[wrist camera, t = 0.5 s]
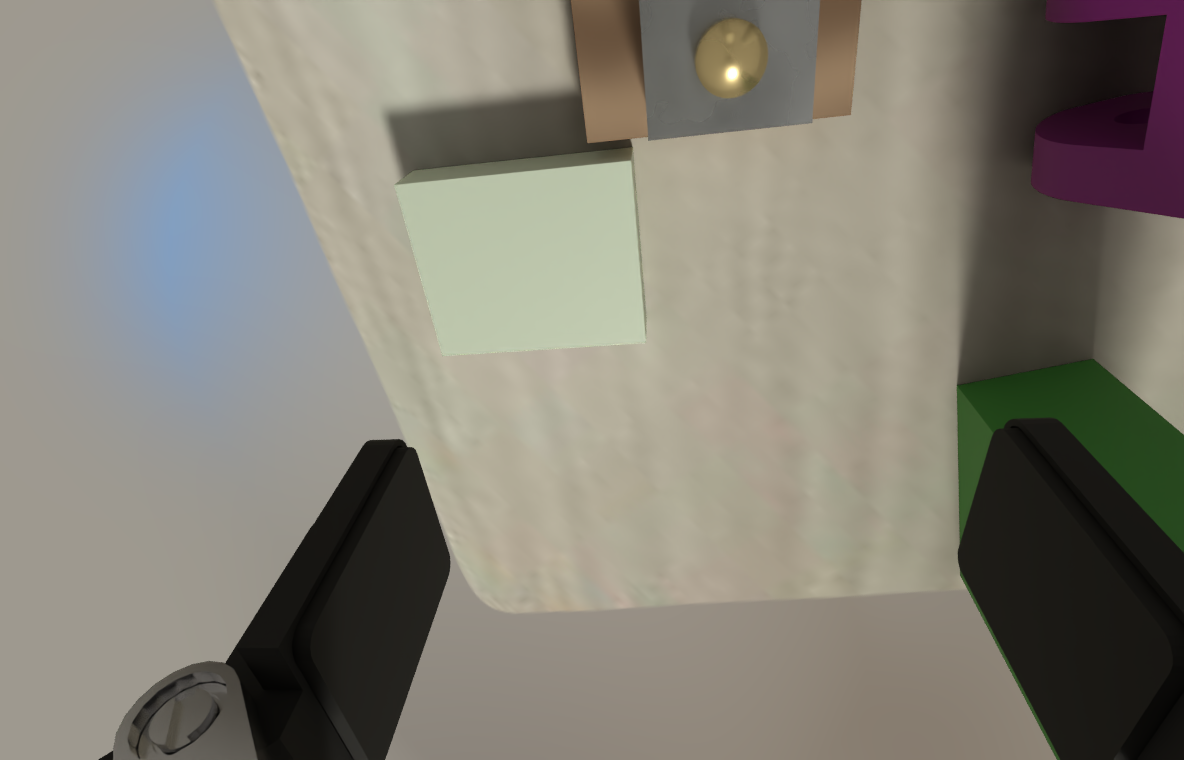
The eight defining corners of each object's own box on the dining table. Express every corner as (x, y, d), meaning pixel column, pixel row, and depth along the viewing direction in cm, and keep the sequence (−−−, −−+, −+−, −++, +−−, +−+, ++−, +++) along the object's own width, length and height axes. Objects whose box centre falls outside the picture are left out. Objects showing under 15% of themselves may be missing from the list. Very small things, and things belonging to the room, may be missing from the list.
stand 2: (565, -113, 27) (556, -124, 24) (855, -161, 25) (878, -177, 23) (592, 131, 32) (587, 143, 29) (834, 104, 30) (850, 114, 28)
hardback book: (1070, 561, 45) (1410, 1026, 25) (960, 575, 47) (1194, 1022, 27) (1093, 358, 37) (1640, 817, 16) (956, 385, 38) (1299, 831, 18)
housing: (634, -104, 24) (629, -134, 18) (792, -129, 24) (838, -168, 18) (649, 113, 29) (648, 146, 23) (783, 98, 28) (818, 128, 22)
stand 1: (413, 170, 34) (394, 184, 31) (632, 147, 32) (630, 160, 30) (455, 332, 39) (442, 356, 37) (646, 319, 38) (646, 342, 35)
